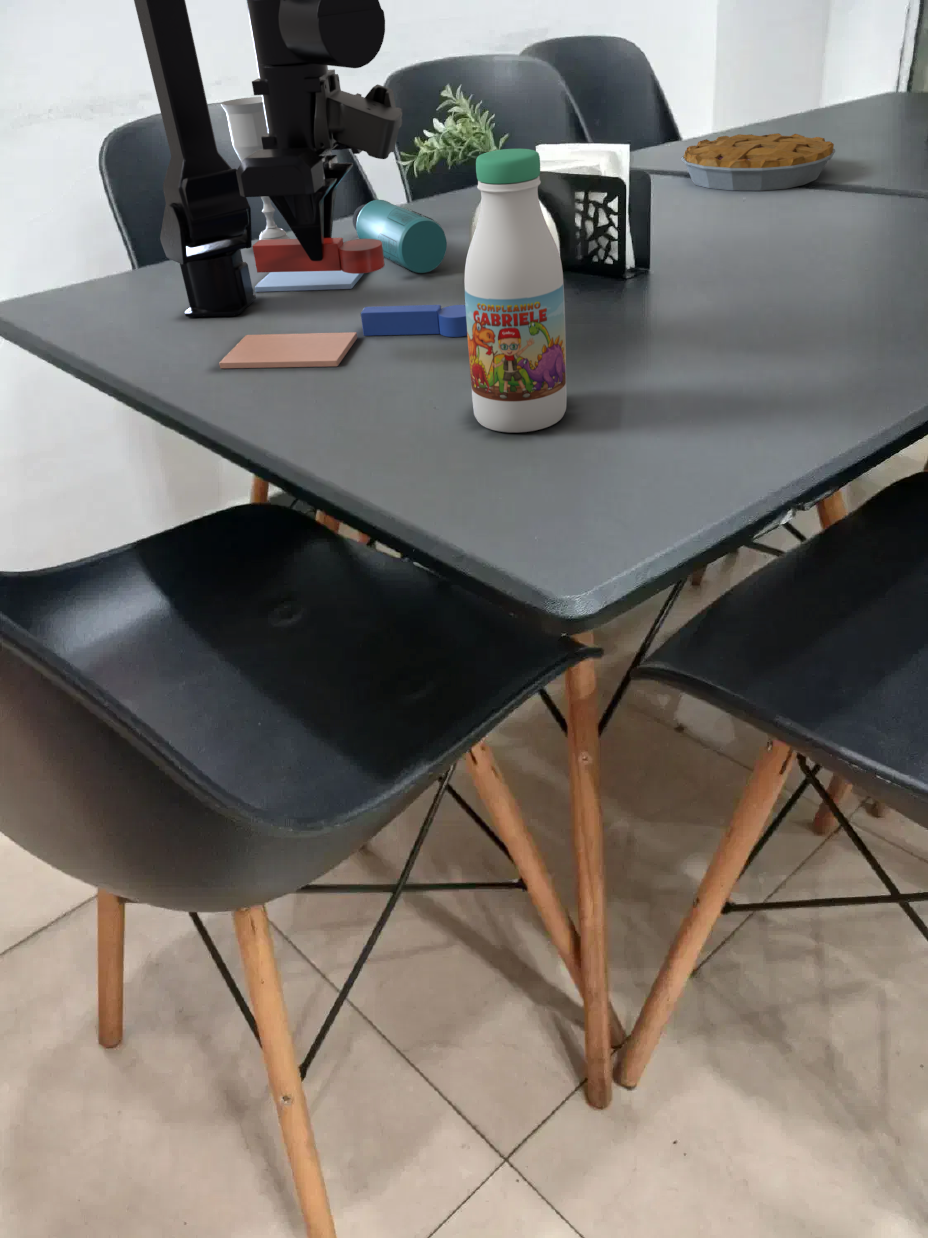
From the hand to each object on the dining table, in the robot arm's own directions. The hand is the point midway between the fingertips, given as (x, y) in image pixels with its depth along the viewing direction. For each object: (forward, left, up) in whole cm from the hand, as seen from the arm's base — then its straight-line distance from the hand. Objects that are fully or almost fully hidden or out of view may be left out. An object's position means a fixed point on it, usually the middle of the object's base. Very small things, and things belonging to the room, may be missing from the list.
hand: (320, 256), depth 89 cm
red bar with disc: (0, 0, -1) cm, 1 cm away
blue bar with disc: (+6, +8, -10) cm, 14 cm away
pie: (+45, +74, -10) cm, 87 cm away
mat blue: (-11, +28, -10) cm, 31 cm away
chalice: (-21, +44, -10) cm, 50 cm away
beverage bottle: (+4, +27, -7) cm, 28 cm away
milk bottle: (+19, -13, -10) cm, 25 cm away
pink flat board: (-6, +3, -10) cm, 12 cm away
